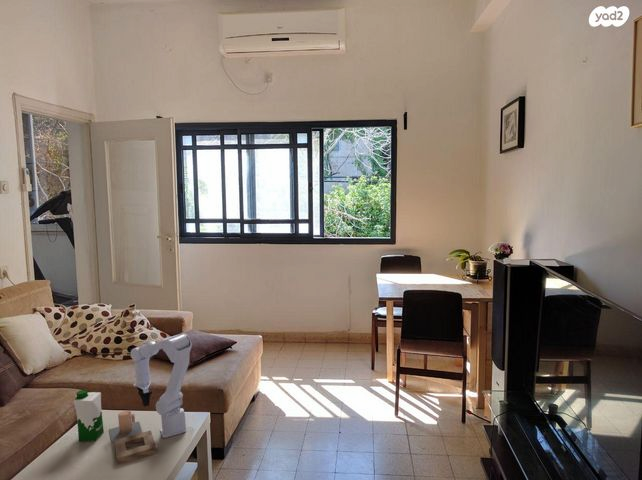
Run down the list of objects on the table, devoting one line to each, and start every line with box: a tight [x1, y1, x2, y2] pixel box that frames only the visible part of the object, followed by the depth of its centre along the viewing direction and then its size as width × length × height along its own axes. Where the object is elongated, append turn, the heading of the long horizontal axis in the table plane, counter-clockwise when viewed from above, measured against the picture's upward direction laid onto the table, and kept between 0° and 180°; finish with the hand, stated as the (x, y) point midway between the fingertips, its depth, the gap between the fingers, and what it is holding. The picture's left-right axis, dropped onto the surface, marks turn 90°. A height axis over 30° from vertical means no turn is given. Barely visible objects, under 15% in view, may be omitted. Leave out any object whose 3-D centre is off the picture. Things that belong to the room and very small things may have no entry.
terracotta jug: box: [117, 410, 136, 435], centre depth 192 cm, size 6×5×8 cm
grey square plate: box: [109, 421, 143, 444], centre depth 193 cm, size 12×12×1 cm
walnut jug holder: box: [114, 430, 158, 465], centre depth 180 cm, size 14×14×2 cm
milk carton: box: [73, 389, 104, 442], centre depth 189 cm, size 9×9×20 cm
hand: (145, 402), depth 199 cm, fingers open, 7 cm apart
